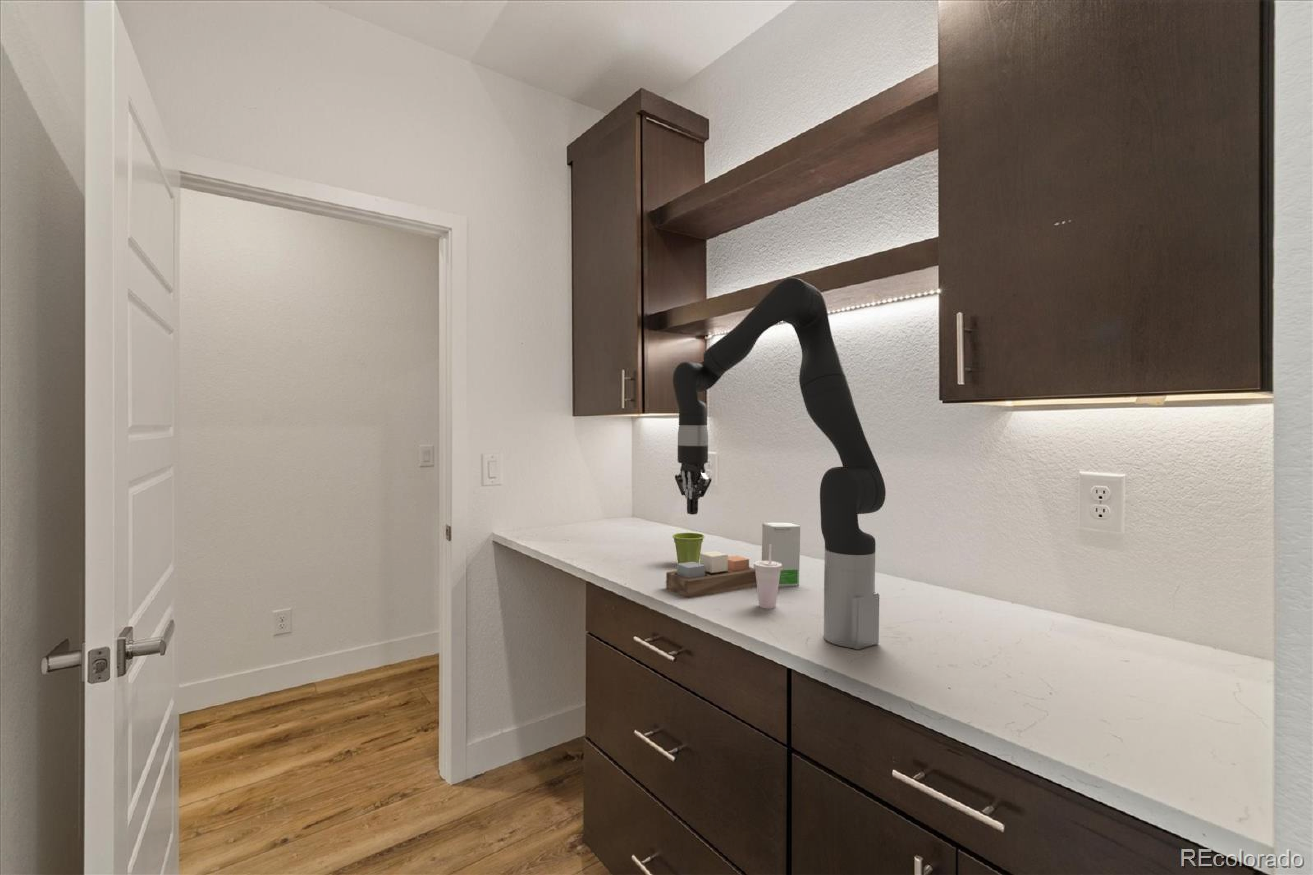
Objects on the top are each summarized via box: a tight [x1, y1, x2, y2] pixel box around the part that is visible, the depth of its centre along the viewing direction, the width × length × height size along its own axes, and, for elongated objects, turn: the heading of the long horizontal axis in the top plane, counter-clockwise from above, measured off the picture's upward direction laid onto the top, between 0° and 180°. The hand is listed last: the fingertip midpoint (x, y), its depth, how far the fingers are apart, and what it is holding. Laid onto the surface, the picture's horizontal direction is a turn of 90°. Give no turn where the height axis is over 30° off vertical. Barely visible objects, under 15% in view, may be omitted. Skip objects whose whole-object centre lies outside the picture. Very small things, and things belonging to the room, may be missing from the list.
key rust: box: [728, 555, 750, 572], centre depth 154 cm, size 5×5×4 cm
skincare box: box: [761, 522, 801, 588], centre depth 154 cm, size 8×7×16 cm
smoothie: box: [753, 545, 782, 610], centre depth 134 cm, size 6×6×14 cm
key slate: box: [676, 562, 705, 579], centre depth 146 cm, size 5×5×4 cm
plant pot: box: [671, 532, 705, 564], centre depth 174 cm, size 9×9×9 cm
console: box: [665, 566, 757, 599], centre depth 150 cm, size 10×22×4 cm, turn 121°
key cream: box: [699, 550, 729, 573], centre depth 150 cm, size 5×5×4 cm
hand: (692, 513), depth 146 cm, fingers closed
